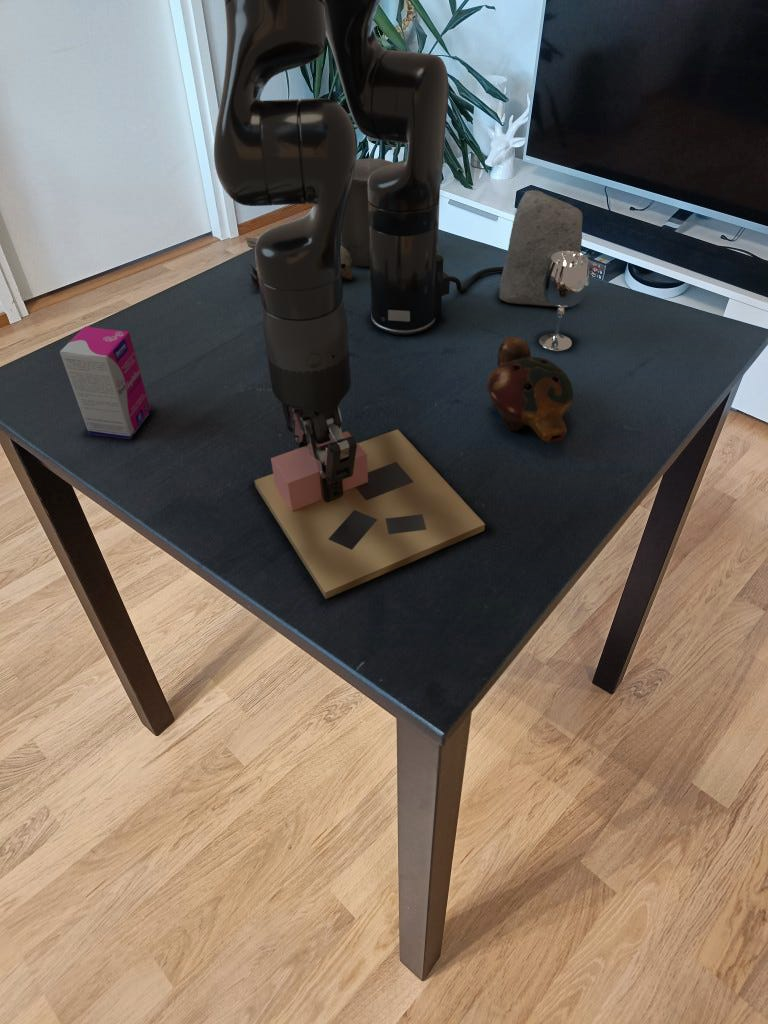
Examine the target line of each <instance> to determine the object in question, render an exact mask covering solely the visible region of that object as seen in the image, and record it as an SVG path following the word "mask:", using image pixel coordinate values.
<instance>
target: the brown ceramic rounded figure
mask: <svg viewBox="0 0 768 1024" xmlns="http://www.w3.org/2000/svg"><path fill="white" fill-rule="evenodd" d="M531 354H532V352H531V349H530V345H529V344H528V342H527V341H526V340H524V339H522V338H520V337H517V336H507V337H506V338H505V339H504V340H503V341H502V342H501V343H500V345H499V347H498V351H497V367H495V368H494V369H493V370H492V371H491V372H490V374H489V376H488V379H487V392H488V395H489V398H490V400H491V402H492V405H493V407H494V408H495V409H496V410H497V412H498V413H499V416H500V417H501V419H502V422H503V424H504V426H505V428H506V429H507V430H508V431H510V432H518V431H519V430H521V429H522V428H523V427H525V426H528V427H529V428H531V430H532V431H533V432H535V434H536V435H537V436H538V437H539V439H540V440H541V441H542V442H544V443H546V444H555V443H558V442H560V441H562V440H563V439H564V438H565V436H566V434H567V431H568V430H567V426H566V423H565V421H564V418H563V416H564V414H565V413H566V412H567V411H568V410H569V409H570V407H571V406H572V404H573V401H574V390H573V386H572V385H573V384H572V382H571V380H570V379H569V376H567V374H566V373H565V372H564V371H563V370H562V368H561V367H559V366H558V365H557V364H555V363H554V362H552V361H550V360H549V359H547V358H545V357H539V356H531Z"/></svg>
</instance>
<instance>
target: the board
mask: <svg viewBox="0 0 768 1024" xmlns="http://www.w3.org/2000/svg"><path fill="white" fill-rule="evenodd" d="M357 443H358V444H359V445H360V447H361V448H362V449H363V450H364V451H365V453H366V454H367V470H368V482H367V483H364V484H362V485H359V486H357V487H354V488H351V489H349V490H346V491H344V492H343V495H342V497H340V498H338V499H335V500H333V501H330V502H325V501H324V499H323V500H320V501H318V502H315V503H312V504H310V505H307V506H305V507H302V508H299V509H297V510H294V511H292V510H291V509H290V507H289V506H288V504H287V503H286V501H285V500H284V498H283V497H282V495H281V494H280V492H279V491H278V489H277V488H276V486H275V480H274V475H273V473H271V474H268V475H265V476H263V477H259V478H257V479H254V480H253V481H254V487H255V489H256V490H257V492H258V493H259V495H260V496H261V498H262V500H263V501H264V503H265V504H266V506H267V508H268V509H269V511H270V512H271V514H272V516H273V517H274V519H275V521H276V522H277V524H278V525H279V527H280V529H281V530H282V531H283V533H284V534H285V536H286V538H287V539H288V541H289V543H290V544H291V546H292V548H293V549H294V551H295V552H296V555H297V556H298V557H299V559H300V561H301V562H302V564H303V565H304V566H305V568H306V570H307V571H308V573H309V575H310V577H311V578H312V579H313V581H314V583H315V584H316V586H317V588H318V589H319V591H320V592H321V594H322V596H323V597H324V599H326V600H327V599H330V598H332V597H334V596H336V595H340V594H341V593H343V592H345V591H348V590H350V589H352V588H355V587H357V586H360V585H362V584H364V583H366V582H369V581H371V580H374V579H376V578H379V577H380V576H382V575H386V574H388V573H390V572H392V571H394V570H397V569H399V568H401V567H403V566H406V565H408V564H411V563H413V562H416V561H417V560H419V559H422V558H424V557H427V556H429V555H432V554H434V553H436V552H438V551H441V550H443V549H445V548H447V547H450V546H452V545H454V544H457V543H459V542H461V541H464V540H467V539H468V538H472V537H473V536H476V535H478V534H480V533H482V532H484V531H485V529H486V523H484V521H483V520H482V519H481V518H480V517H479V516H478V515H477V514H476V513H475V511H474V510H473V509H472V508H471V507H470V506H469V505H468V504H467V503H466V502H465V501H464V500H463V498H462V497H461V496H460V495H459V494H458V493H457V492H456V491H455V490H454V489H453V487H452V486H451V485H450V484H449V483H448V482H447V481H446V480H445V479H444V478H443V477H442V476H441V474H440V473H439V472H438V471H437V470H436V469H435V468H434V467H433V466H432V464H431V463H430V462H429V461H427V459H426V458H425V457H424V456H423V455H422V454H421V453H420V452H419V451H418V449H417V448H416V447H415V446H414V445H413V444H412V443H411V442H410V441H409V440H408V439H407V437H406V436H405V435H404V434H403V433H402V432H401V430H399V429H398V428H397V429H394V430H391V431H388V432H386V433H382V434H380V435H377V436H375V437H372V438H369V439H366V440H363V441H360V442H357Z"/></svg>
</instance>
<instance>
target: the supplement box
mask: <svg viewBox="0 0 768 1024" xmlns="http://www.w3.org/2000/svg"><path fill="white" fill-rule="evenodd" d="M59 354H60V358H61V360H62V362H63V365H64V369H65V371H66V373H67V377H68V379H69V382H70V385H71V387H72V390H73V393H74V396H75V399H76V402H77V404H78V407H79V409H80V413H81V415H82V418H83V421H84V424H85V426H86V430H87V433H88V434H89V435H91V436H92V435H93V436H100V437H110V438H117V439H122V440H132V439H133V437H134V436H135V434H136V433H137V431H138V430H139V428H140V427H141V426H142V424H143V423H144V421H145V420H146V419H147V418H148V417H149V416H150V415H151V413H152V409H151V406H150V402H149V400H148V399H149V398H148V396H147V391H146V388H145V384H144V380H143V378H142V373H141V369H140V366H139V362H138V360H137V356H136V352H135V349H134V344H133V341H132V338H131V333H130V331H127V330H118V329H107V328H100V327H92V326H84V327H82V329H81V330H80V331H79V332H78V333H77V334H76V335H75V336H74V337H73V338H71V340H70V341H69V342H68V343H67V344H66V345H65V346H64V347H63V348H61V350H60V351H59Z"/></svg>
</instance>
